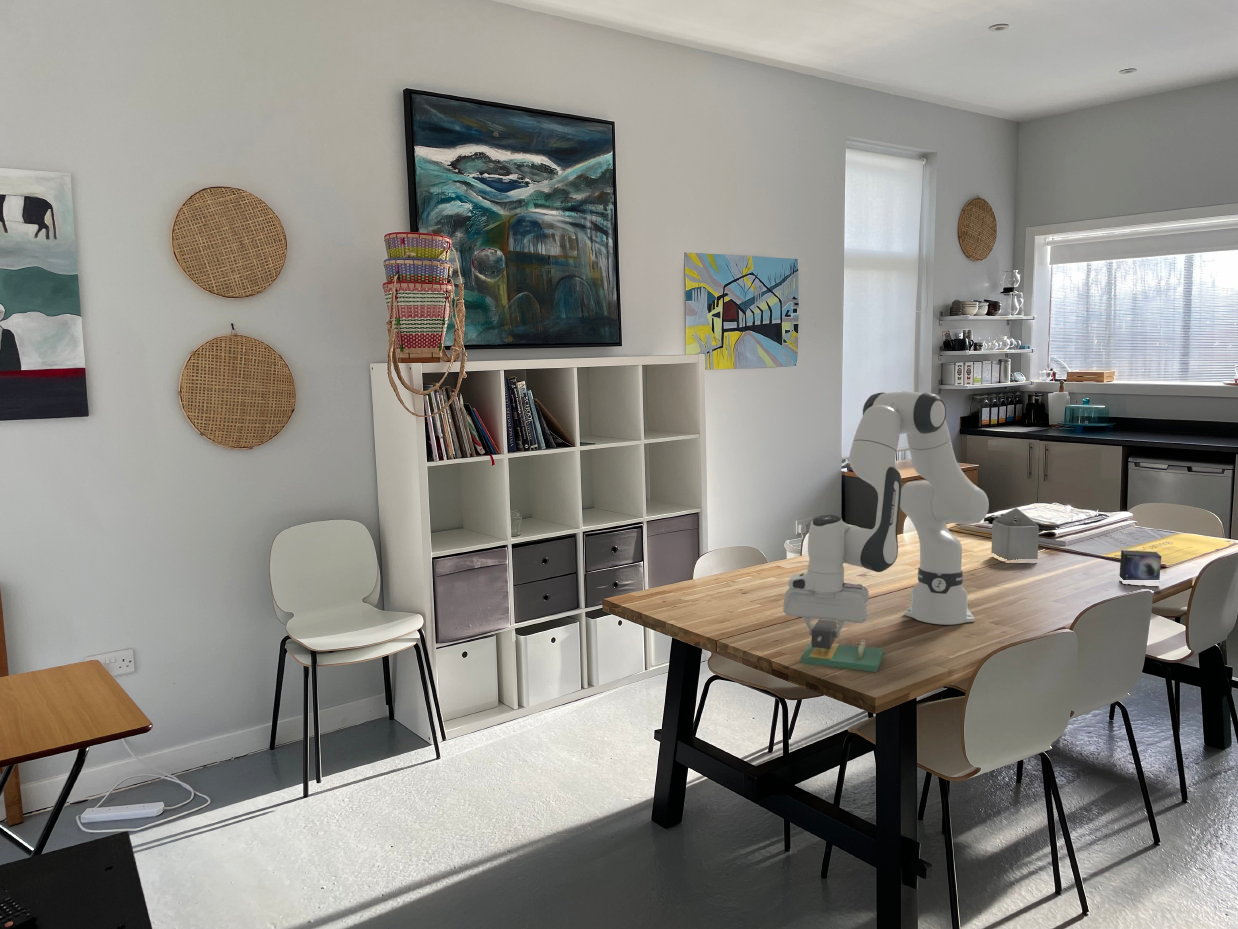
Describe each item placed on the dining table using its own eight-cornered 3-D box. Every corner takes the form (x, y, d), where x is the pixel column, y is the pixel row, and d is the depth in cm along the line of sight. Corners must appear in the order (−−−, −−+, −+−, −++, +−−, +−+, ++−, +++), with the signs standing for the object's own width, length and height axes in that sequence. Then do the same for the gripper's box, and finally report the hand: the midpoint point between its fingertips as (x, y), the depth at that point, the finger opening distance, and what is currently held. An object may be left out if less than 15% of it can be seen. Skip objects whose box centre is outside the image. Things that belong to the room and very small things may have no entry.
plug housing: (818, 635, 228) (819, 619, 228) (836, 637, 227) (836, 621, 226) (809, 650, 216) (809, 633, 216) (827, 652, 215) (828, 635, 214)
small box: (1123, 585, 290) (1124, 553, 289) (1118, 580, 296) (1120, 549, 295) (1160, 587, 287) (1162, 555, 286) (1154, 582, 293) (1156, 551, 292)
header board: (811, 646, 232) (811, 629, 231) (883, 654, 225) (884, 636, 224) (800, 663, 219) (800, 645, 218) (876, 672, 212) (877, 653, 211)
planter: (983, 560, 328) (985, 508, 326) (991, 557, 334) (993, 505, 332) (1030, 567, 317) (1032, 513, 315) (1037, 563, 323) (1040, 510, 321)
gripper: (870, 582, 220) (869, 637, 222) (787, 575, 228) (786, 628, 229) (867, 588, 214) (865, 644, 216) (782, 580, 222) (781, 635, 224)
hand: (824, 636), depth 223 cm, fingers closed on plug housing, 4 cm apart
